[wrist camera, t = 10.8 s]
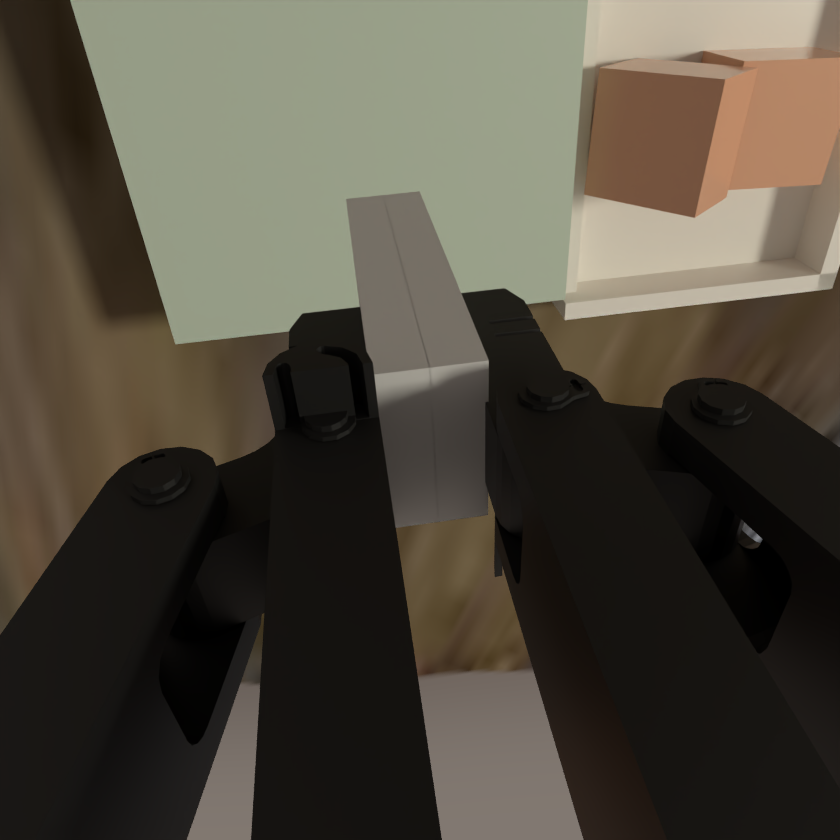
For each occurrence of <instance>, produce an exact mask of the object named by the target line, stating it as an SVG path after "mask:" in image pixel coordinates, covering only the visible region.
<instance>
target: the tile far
mask: <svg viewBox="0 0 840 840" xmlns="http://www.w3.org/2000/svg"><path fill="white" fill-rule="evenodd" d="M701 63H707V64H719V65H731V66H744V67H756V68H758V70H757V74H756V78H755V82H754V87H753V91H752V95H751V99H750V103H749V107H748V111H747V115H746V119H745V123H744V127H743V131H742V136H741V140H740V144H739V148H738V152H737V156H736V160H735V164H734V168H733V172H732V176H731V180H730V184H729V189H728V190H738V189H755V188H772V187H789V186H806V185H821V183H822V180H823V177H824V174H825V171H826V168H827V165H828V162H829V159H830V156H831V152H832V149H833V146H834V143H835V140H836V137H837V134H838V131H839V128H840V52H836V51H831V50H826V49H821V48H816V47H787V48H760V49H732V50H705V51H703V56H702V61H701Z"/></svg>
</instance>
